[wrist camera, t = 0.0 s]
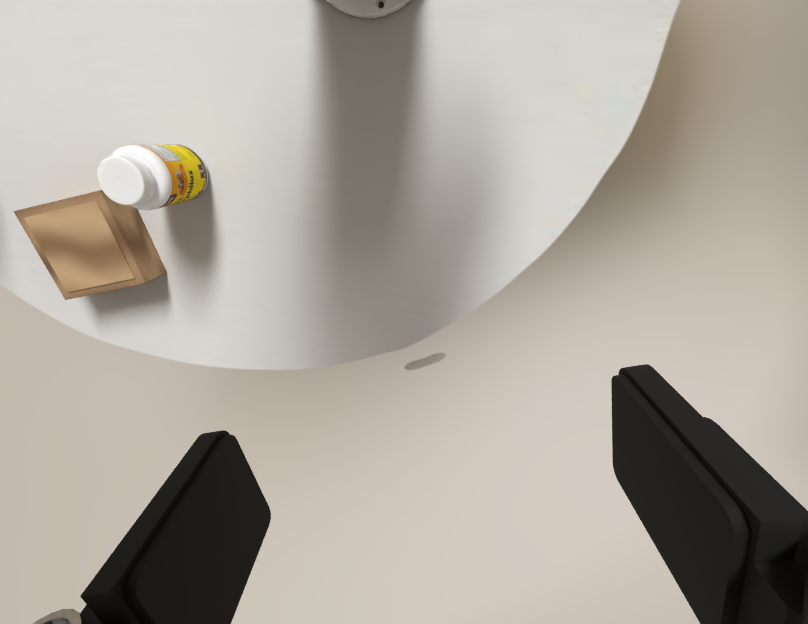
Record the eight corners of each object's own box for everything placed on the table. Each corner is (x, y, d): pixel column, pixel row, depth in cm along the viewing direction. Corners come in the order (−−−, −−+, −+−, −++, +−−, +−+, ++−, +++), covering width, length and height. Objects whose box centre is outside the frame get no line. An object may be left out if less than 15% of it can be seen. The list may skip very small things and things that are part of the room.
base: (46, 205, 45) (12, 211, 41) (126, 186, 44) (98, 190, 40) (92, 287, 49) (64, 300, 45) (166, 272, 48) (144, 283, 44)
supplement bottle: (197, 209, 45) (138, 228, 35) (151, 177, 43) (76, 188, 34) (220, 166, 43) (163, 175, 33) (172, 132, 41) (99, 130, 32)
